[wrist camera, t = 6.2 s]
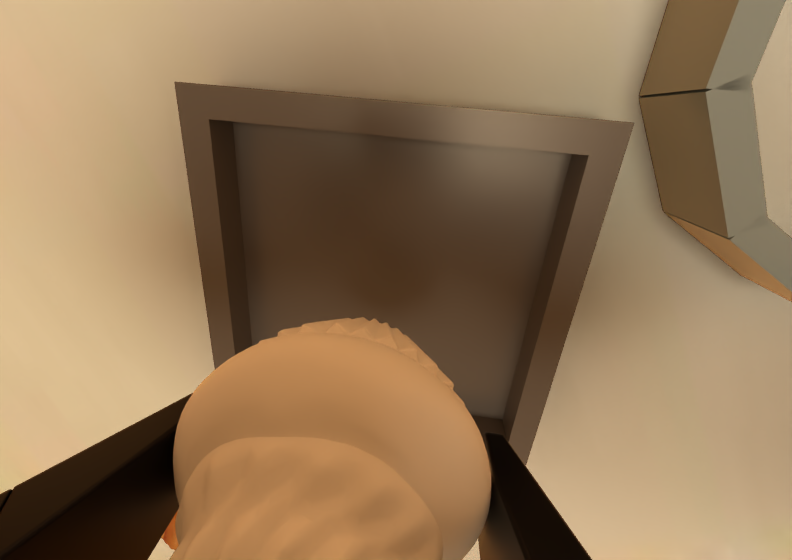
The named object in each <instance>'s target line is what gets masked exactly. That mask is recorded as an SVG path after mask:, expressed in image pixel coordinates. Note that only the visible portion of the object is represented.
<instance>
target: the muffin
mask: <svg viewBox="0 0 792 560" xmlns="http://www.w3.org/2000/svg"><path fill="white" fill-rule="evenodd" d="M453 386H454V384H453V382H452V381H451V380H450V379H449V378H448V377H447V376H446V375H445V374H444V373H443V372H442V371H441V370H440V369H439V368H438V366H437V364H436V363H435V362H434V361H433V360H432V359H430V358H429V357H428V356H427V355H426V354H425V353H424V352H423V351H422V350H421V349H420V348H419V347H418V346H417V345H416V344H415V343H414V342H413V341H412V340H411V339H410V338H409V337H408V336H406V335H403V334H402V333H401V332H400V331H399V329H397V328H390V327H389V324H388V323H382V324H381V323H379V322H378V321H377V320H376V319H373V320H371V321H368V320H367V319H365V318H364V317H361V318H355V319H351V318H343V319H336V320H328V321H320V322H313V323H306V324H303V325H302V326H301V327H295V328H289V329H283V330H281V331H279V332H278V336H277V337H273V338H269V339H265V340H261V341H259V343H258V344H256V345H254V346H251V347H249V348H247V349H245V350H244V351H242V352H240V353H238V354H236V355H235V356H233V357H231V358H230V359H228V360H227V361H226V362H224V363H223V364H221V365H220V366H219V367H218V368H217V369H215V370H214V371H213V372H212V373H211V374H210V375H209V376H208V377H207V378H206V379H205V380H204V381H203V382H202V383H201V384H200V385H199V386H198V387H197V389H196V390H195V391H194V393H193V394H192V395H191V397H190V398H189V400H188V401H187V403H186V405H185V407H184V409H183V411H182V413H181V416H180V419H179V422H178V425H177V429H176V434H175V440H174V449H173V472H174V483H175V490H176V496H177V499H178V502H179V509H178V512H177V516H176V522H175V529H176V536H177V541H178V545H179V546H178V547H177V549H176V550H175V552H174V553H173V555H172V556H171V558H170V560H462V559H463V558H464V557H465V555H466V554H467V553H468V552H469V551H470V549H471V548H472V547H473V545H474V544H475V542H476V541H477V539H478V537H479V536H480V534H481V532H482V529H483V527H484V525H485V522H486V519H487V516H488V512H489V508H490V500H491V472H490V466H489V460H488V455H487V451H486V448H485V445H484V442H483V438H482V436H481V434H480V431H479V429H478V427H477V425H476V423H475V421H474V419H473V418H472V416H471V414H470V413H469V411H468V410H467V408H466V407H465V404H464V402H463V401H462V399H461V398H460V397H459V396H458V395H457V394H456V393H455V392H454V391H453Z"/></svg>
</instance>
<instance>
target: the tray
mask: <svg viewBox="0 0 792 560" xmlns="http://www.w3.org/2000/svg"><path fill="white" fill-rule="evenodd" d="M175 89H176V97H177V104H178V111H179V118H180V125H181V132H182V139H183V146H184V153H185V161H186V168H187V175H188V182H189V189H190V196H191V203H192V210H193V218H194V225H195V232H196V239H197V246H198V253H199V260H200V267H201V274H202V282H203V289H204V296H205V303H206V310H207V317H208V324H209V331H210V338H211V346H212V353H213V360H214V367H215V369H217V368H218V367H219V366H220V365H221V364H223V363H224V362H226V361H227V360H228V359H230V358H231V357H233V356H235V355H236V354H238V353H240V352H242V351H244V350H245V349H247V348H249V347H251V346H254V345H256V344H258V343H259V341H261V340H265V339H269V338H273V337H277V336H278V332H279V331H281V330H283V329H289V328H295V327H301V326H302V325H303V324H306V323H313V322H320V321H328V320H336V319H343V318H351V319H355V318H361V317H364V318H365V319H367V320H368V321H371V320H373V319H376V320H377V321H378V322H379V323H381V324H382V323H388V324H389V327H390V328H397V329H399V331H400V332H401V333H402V334H403V335H406V336H408V337H409V338H410V339H411V340H412V341H413V342H414V343H415V344H416V345H417V346H418V347H419V348H420V349H421V350H422V351H423V352H424V353H425V354H426V355H427V356H428V357H429V358H430V359H432V360H433V361H434V362H435V363H436V364H437V366H438V368H439V369H440V370H441V371H442V372H443V373H444V374H445V375H446V376H447V377H448V378H449V379H450V380H451V381H452V382H453V384H454V386H453V391H454V392H455V393H456V394H457V395H458V396H459V397H460V398H461V399H462V401H463V402H464V404H465V407H466V408H467V410H468V411H469V413H470V414H471V416H472V418H473V419H474V421H475V423H476V425H477V427H478V429H479V431H480V434H481V436H482V437H483V434H484V433H485V432H493V433H499V434H502V435H503V436H504V437H505V438H506V439H507V441H508V442H509V443H510V445H511V446H512V448H513V449H514V450H515V452H516V453H517V455H518V456H519V458H520V459H521V460H522V462H523V463H524V465H526V463H527V460H528V457H529V454H530V451H531V448H532V444H533V441H534V438H535V435H536V432H537V429H538V426H539V422H540V419H541V416H542V413H543V410H544V407H545V403H546V400H547V397H548V394H549V391H550V388H551V384H552V381H553V378H554V375H555V372H556V369H557V366H558V362H559V359H560V356H561V353H562V350H563V347H564V343H565V340H566V337H567V334H568V331H569V328H570V325H571V321H572V318H573V315H574V312H575V309H576V306H577V302H578V299H579V296H580V293H581V290H582V287H583V283H584V280H585V277H586V274H587V271H588V268H589V265H590V261H591V258H592V255H593V252H594V249H595V246H596V242H597V239H598V236H599V233H600V230H601V227H602V223H603V220H604V217H605V214H606V211H607V208H608V205H609V201H610V198H611V195H612V192H613V189H614V186H615V182H616V179H617V176H618V173H619V170H620V167H621V164H622V160H623V157H624V154H625V151H626V148H627V145H628V141H629V138H630V135H631V132H632V129H633V126H634V123H632V122H621V121H610V120H599V119H587V118H576V117H565V116H554V115H542V114H531V113H520V112H509V111H498V110H486V109H475V108H464V107H453V106H441V105H430V104H419V103H408V102H397V101H385V100H374V99H363V98H352V97H340V96H329V95H318V94H307V93H296V92H284V91H273V90H262V89H251V88H239V87H228V86H217V85H206V84H195V83H183V82H175Z"/></svg>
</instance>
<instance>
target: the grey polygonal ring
mask: <svg viewBox="0 0 792 560" xmlns="http://www.w3.org/2000/svg"><path fill="white" fill-rule="evenodd" d="M785 1H786V0H669V2H668V5H667V8H666V11H665V14H664V18H663V21H662V24H661V27H660V30H659V34H658V37H657V40H656V43H655V46H654V50H653V53H652V56H651V59H650V62H649V66H648V69H647V72H646V75H645V78H644V82H643V85H642V88H641V91H640V94H639V96H643V97H641V98H639V101H640V106H641V111H642V115H643V120H644V124H645V129H646V134H647V138H648V143H649V148H650V152H651V157H652V162H653V166H654V171H655V176H656V180H657V185H658V190H659V194H660V199H661V203H662V208H663V211H665V212H664V213H666V214H667V215H668V216H669V217H670V218H672V219H673V220H674V221H675V222H677V223H678V224H679V225H680V226H681V227H683V228H684V229H685V230H686V231H687V232H689V233H690V234H691V235H692V236H694V237H695V238H696V239H697V240H698V241H700V242H701V243H702V244H703V245H704V246H706V247H707V248H708V249H709V250H711V251H712V252H713V253H714V254H715V255H717V256H718V257H719V258H720V259H722V260H723V261H724V262H725V263H726V264H728V265H729V266H730V267H731V268H732V269H734V270H735V271H736V272H737V273H739V274H740V275H741V276H743V277H745V278H747V279H749V280H751V281H753V282H755V283H757V284H759V285H760V286H762V287H764V288H766V289H768V290H770V291H772V292H774V293H776V294H778V295H779V296H781V297H783V298H785V299H787V300H789V301H791V302H792V238H791V237H790V236H788V235H787V234H786V233H785V232H784V231H783V230H781V229H780V228H779V227H778V226H777V225H776V224H775V223H773V222H772V221H771V220H770V219H769V218H768V217H767V208H766V200H765V191H764V183H763V174H762V166H761V157H760V149H759V140H758V132H757V123H756V115H755V106H754V98H753V89H752V80H753V77H754V75H755V73H756V70H757V68H758V65H759V63H760V61H761V58H762V56H763V53H764V51H765V49H766V46H767V44H768V41H769V39H770V37H771V34H772V32H773V30H774V27H775V25H776V22H777V20H778V18H779V15H780V13H781V10H782V8H783V6H784V3H785Z"/></svg>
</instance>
